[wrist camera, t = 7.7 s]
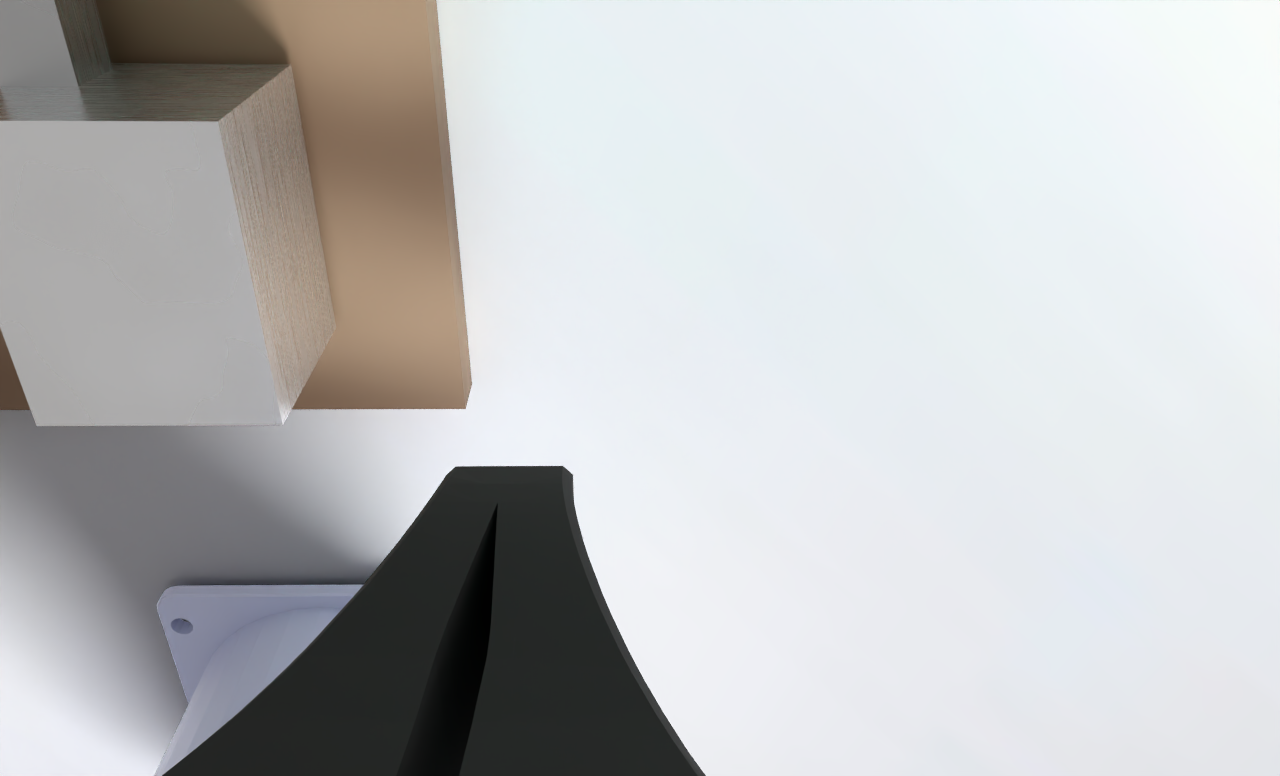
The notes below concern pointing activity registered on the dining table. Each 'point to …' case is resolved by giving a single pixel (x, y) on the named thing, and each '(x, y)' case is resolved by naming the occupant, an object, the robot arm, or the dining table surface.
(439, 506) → the robot arm
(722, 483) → the dining table surface
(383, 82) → the base
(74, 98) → the gauge carriage
